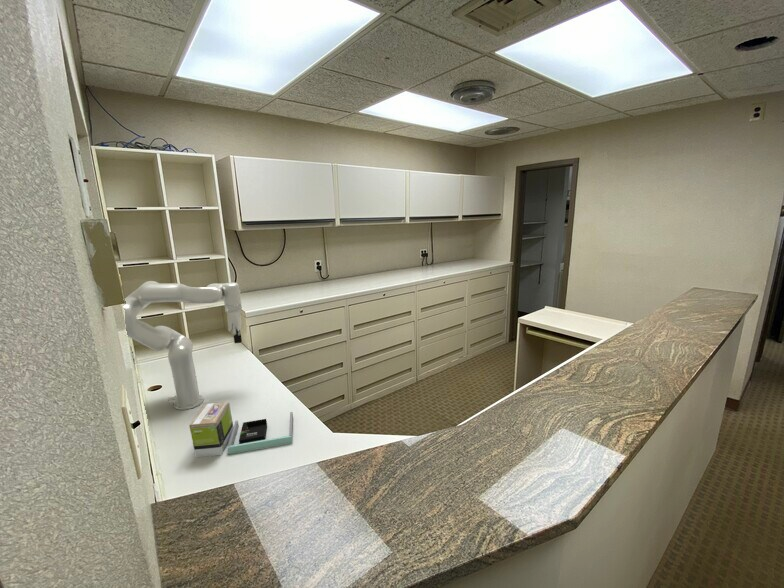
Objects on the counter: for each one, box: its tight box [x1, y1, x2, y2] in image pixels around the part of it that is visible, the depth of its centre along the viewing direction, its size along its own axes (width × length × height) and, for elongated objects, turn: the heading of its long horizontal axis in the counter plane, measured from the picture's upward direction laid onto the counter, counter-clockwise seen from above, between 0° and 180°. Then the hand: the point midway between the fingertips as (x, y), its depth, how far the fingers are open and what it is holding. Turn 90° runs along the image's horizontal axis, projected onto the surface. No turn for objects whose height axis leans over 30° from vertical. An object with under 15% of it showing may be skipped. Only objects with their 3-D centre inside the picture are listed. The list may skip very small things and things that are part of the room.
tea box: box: [189, 401, 234, 458], centre depth 142 cm, size 15×10×15 cm
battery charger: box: [238, 418, 268, 444], centre depth 147 cm, size 13×10×4 cm
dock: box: [226, 411, 294, 455], centre depth 148 cm, size 24×18×3 cm
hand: (238, 342), depth 179 cm, fingers closed
